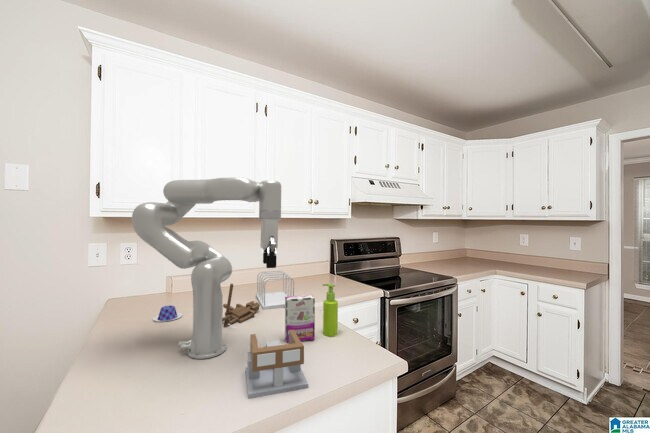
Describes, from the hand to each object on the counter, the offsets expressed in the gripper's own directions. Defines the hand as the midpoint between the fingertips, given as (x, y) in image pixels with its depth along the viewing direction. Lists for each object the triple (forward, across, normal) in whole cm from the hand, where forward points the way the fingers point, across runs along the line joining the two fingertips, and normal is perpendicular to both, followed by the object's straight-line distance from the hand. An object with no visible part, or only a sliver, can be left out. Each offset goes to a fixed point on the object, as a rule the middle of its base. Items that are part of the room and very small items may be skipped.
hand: (269, 265), depth 98 cm
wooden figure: (+31, -38, -7) cm, 50 cm away
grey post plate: (+30, +17, 0) cm, 35 cm away
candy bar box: (+31, -8, +13) cm, 34 cm away
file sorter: (+31, -61, +11) cm, 70 cm away
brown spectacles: (+24, +16, 0) cm, 29 cm away
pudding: (+31, -49, -40) cm, 70 cm away
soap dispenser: (+31, -10, +26) cm, 41 cm away
